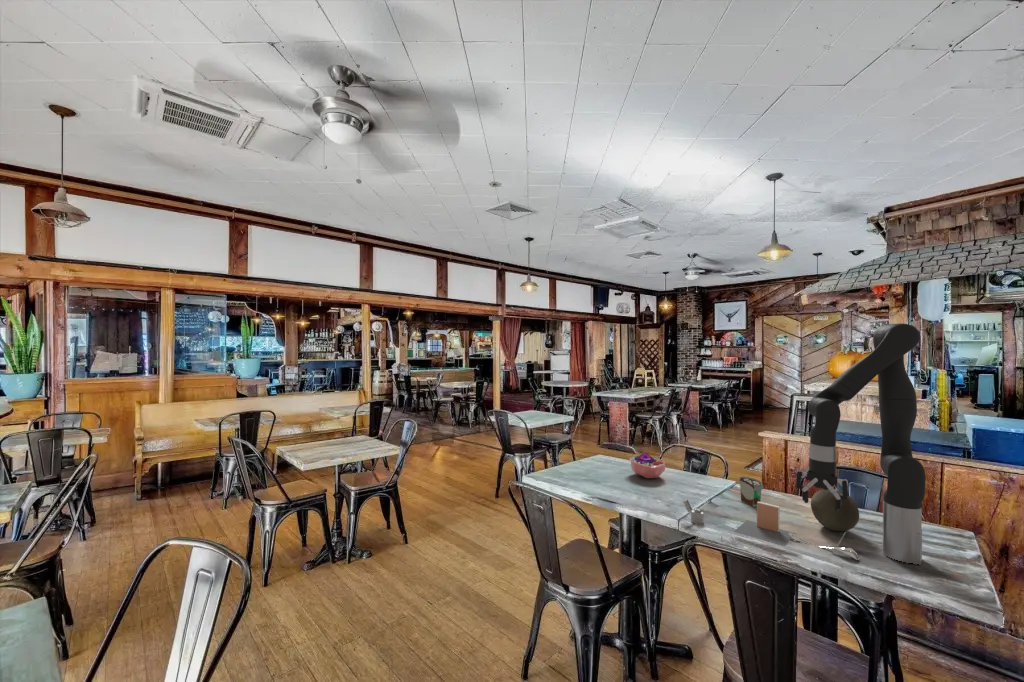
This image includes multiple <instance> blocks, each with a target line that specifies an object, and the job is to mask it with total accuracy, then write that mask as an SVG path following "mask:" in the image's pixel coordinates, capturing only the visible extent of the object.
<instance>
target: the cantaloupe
mask: <svg viewBox="0 0 1024 682" xmlns="http://www.w3.org/2000/svg"><path fill="white" fill-rule="evenodd" d="M838 491H839V493H840V494H843V490H840V489H838ZM835 499H836V497H835V496H834V495H833V494H832V493H831V491H830V490H829V489H827V490H825V489H822V488H821V489H820V490H818V491H816V492H815V493H814V494H813V495H812V497H811V499H810V507H811V511H812V514H813V516H814V518H815V520H817V521H818V523H819V524H821V526H823V527H824V528H827V529H828V530H830V531H832V532H847V531H849V530H850V531H851V530H853V528H855V527H856V526H857V524H858V523H859V521H860V510H859V508H858V505H857V504H856V501H855V500H854V499H853V497H851V496H850V495H849V497H848V498H847V499H842V507H841V509H839V510H838V511H837V510H835Z"/></svg>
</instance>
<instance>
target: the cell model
mask: <svg viewBox="0 0 1024 682" xmlns="http://www.w3.org/2000/svg"><path fill="white" fill-rule="evenodd" d="M629 461H630V468H631V470H632V472H633V473H635V474H636V475H638V476H641V477H643V478H645V479H657V478H659V477H661V475H662V474H663V473H664V472H665V470H666V462H665V460H663V459H661V458H658V457H654V456H651V455H650V453H647V452H642V453H640V455H636V456H631V457H629Z"/></svg>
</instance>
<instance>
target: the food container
mask: <svg viewBox="0 0 1024 682" xmlns="http://www.w3.org/2000/svg"><path fill="white" fill-rule="evenodd" d="M738 479H739V480H738V481H739V485H740V486H739V489H740V490H739V492H740V501H741V502H743V503H744V504H746V505H748V506H750V507H752V508H757V502H758V501H759V502H761V499H762V498H761V497H762V491H763V490H764V485H763V482H762V481H761V480H759V479H757V478H753V477H748V476H739V478H738Z"/></svg>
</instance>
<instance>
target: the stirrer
mask: <svg viewBox="0 0 1024 682" xmlns="http://www.w3.org/2000/svg"><path fill="white" fill-rule="evenodd" d="M792 533H793V532H792ZM792 533H788V535H789V536H790V537H791V539H793V540H794V541H796V542H798V543H800V544H804V545H809V546H813V547H815V548H820V549H832V550H837V551H839V552H841V553H844V554H846V555H847V556H850V557H851V558H853V559H854V560H856V561H857V560H859V559H860V556H859V555H858V553H857V552H856V551H855V550H854V549H853V548H851V547H848V546H822V545H816V544H813V543H811V542H808V541H807V540H805V539H803V538H802V537H799V536H798V535H796V534H792ZM792 535H793V536H792ZM859 561H860V560H859Z"/></svg>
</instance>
